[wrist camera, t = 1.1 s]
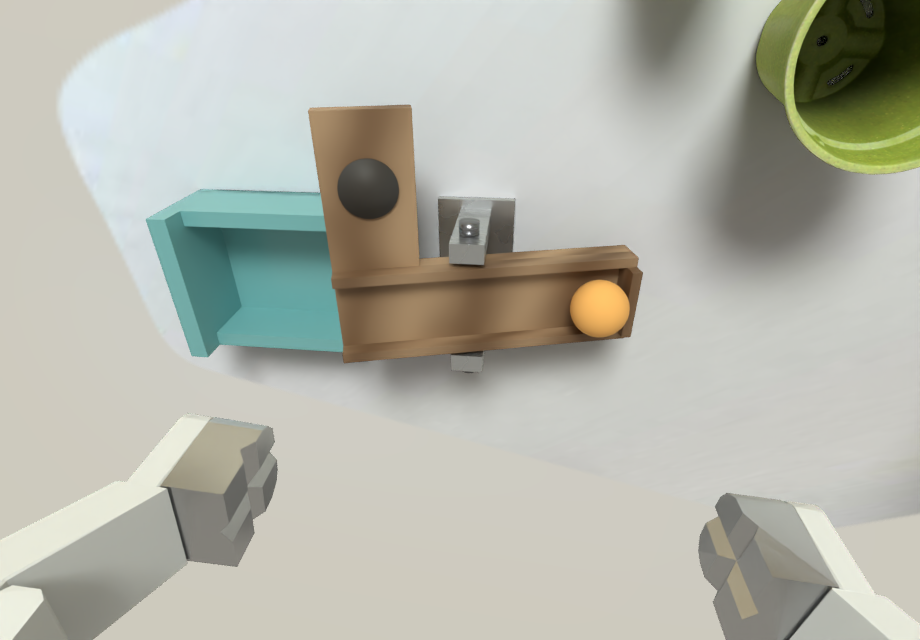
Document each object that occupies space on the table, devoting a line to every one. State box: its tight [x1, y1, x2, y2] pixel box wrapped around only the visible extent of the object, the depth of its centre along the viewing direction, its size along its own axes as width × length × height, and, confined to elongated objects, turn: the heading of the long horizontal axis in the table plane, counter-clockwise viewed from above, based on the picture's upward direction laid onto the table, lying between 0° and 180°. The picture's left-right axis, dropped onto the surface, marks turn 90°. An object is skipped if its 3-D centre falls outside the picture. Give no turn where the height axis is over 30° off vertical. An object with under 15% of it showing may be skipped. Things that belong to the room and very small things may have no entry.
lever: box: [308, 105, 643, 363], centre depth 29 cm, size 18×14×3 cm
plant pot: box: [756, 0, 920, 174], centre depth 24 cm, size 9×9×9 cm
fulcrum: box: [438, 196, 515, 373], centre depth 34 cm, size 5×10×6 cm, turn 0°
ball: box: [570, 280, 630, 337], centre depth 31 cm, size 4×4×4 cm
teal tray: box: [146, 189, 343, 357], centre depth 35 cm, size 11×10×6 cm
